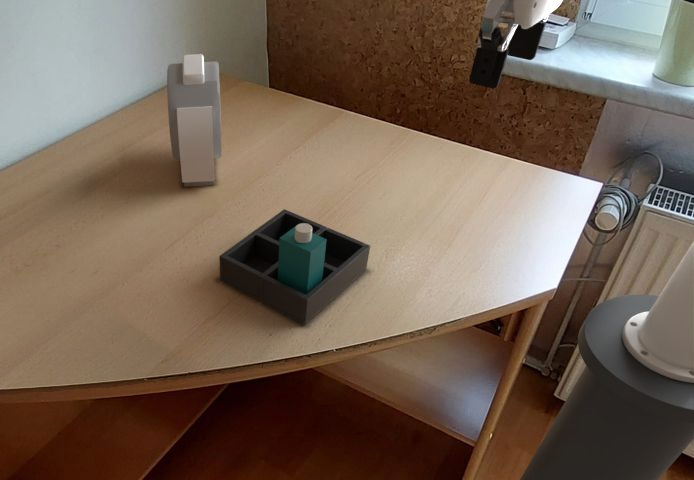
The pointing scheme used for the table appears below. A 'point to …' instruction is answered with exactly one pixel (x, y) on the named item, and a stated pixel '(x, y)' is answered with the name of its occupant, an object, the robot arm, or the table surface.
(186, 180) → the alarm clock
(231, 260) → the tray
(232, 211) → the table surface
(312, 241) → the detergent bottle
